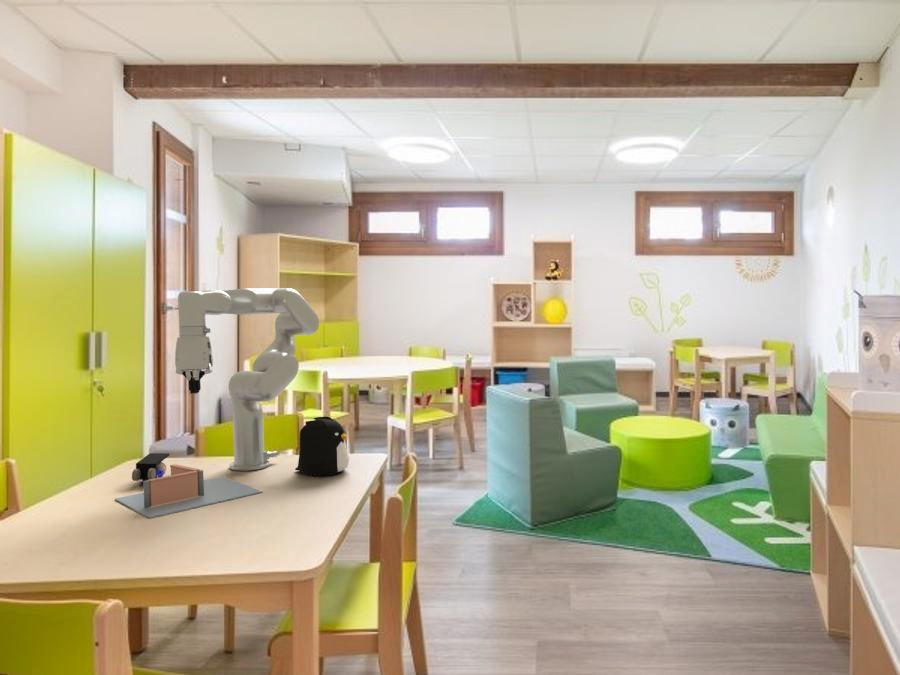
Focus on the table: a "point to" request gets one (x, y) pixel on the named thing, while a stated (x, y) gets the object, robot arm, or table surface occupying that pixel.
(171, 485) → the fence fixed
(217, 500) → the card
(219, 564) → the table surface
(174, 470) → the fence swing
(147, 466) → the black toy car
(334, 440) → the penguin
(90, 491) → the table surface
